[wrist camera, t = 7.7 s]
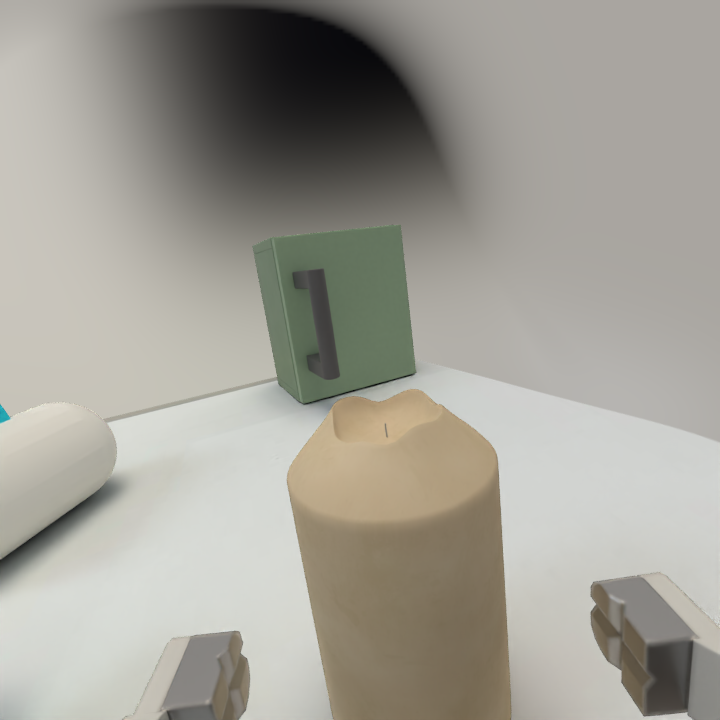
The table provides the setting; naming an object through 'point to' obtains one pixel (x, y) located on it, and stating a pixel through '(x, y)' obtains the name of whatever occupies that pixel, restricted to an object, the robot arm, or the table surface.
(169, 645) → the robot arm
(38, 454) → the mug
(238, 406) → the table surface
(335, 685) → the candle
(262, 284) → the cabinet
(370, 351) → the door
